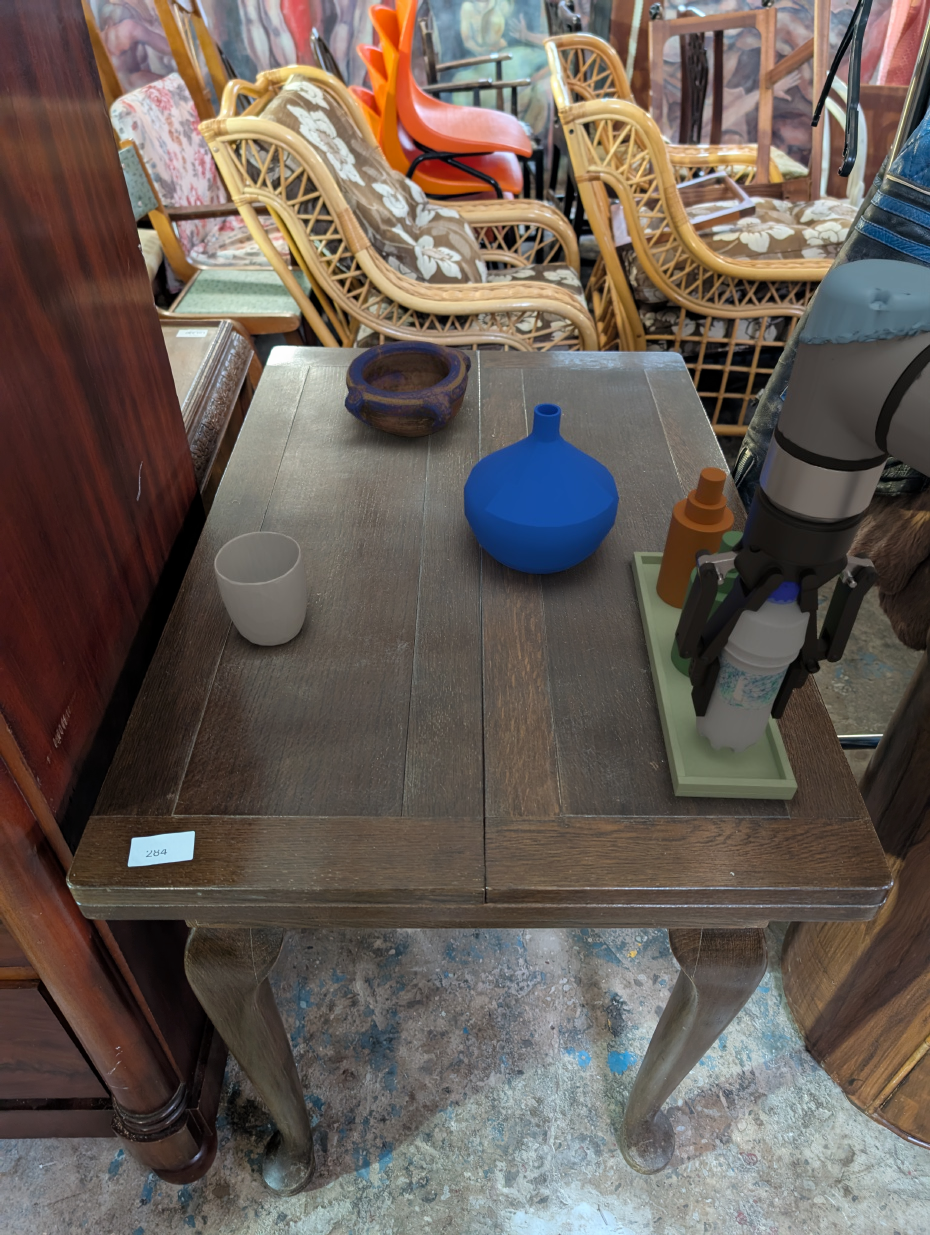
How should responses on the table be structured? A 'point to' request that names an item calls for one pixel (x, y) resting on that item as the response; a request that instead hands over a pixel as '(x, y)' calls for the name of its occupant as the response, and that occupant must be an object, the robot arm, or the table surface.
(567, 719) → the table surface
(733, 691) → the bottle
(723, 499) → the amber bottle
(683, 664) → the green bottle
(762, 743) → the tray
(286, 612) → the mug
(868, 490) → the robot arm
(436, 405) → the bowl
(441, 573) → the table surface
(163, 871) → the table surface
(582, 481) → the vase
